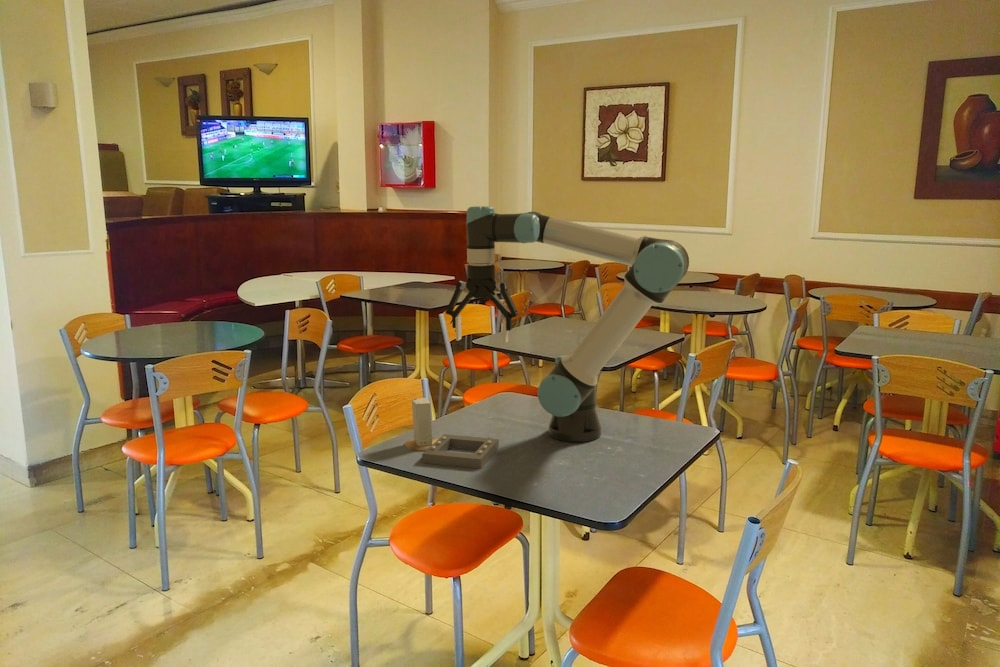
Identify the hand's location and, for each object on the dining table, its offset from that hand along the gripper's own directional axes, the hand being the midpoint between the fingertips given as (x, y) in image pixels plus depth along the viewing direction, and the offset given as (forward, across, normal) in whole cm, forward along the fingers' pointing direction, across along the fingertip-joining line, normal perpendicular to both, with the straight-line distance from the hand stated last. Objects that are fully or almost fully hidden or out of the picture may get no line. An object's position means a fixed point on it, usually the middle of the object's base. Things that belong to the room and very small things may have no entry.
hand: (482, 341), depth 205 cm
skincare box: (+28, +15, +8) cm, 33 cm away
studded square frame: (+29, +2, +13) cm, 32 cm away
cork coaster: (+29, +15, +8) cm, 33 cm away
